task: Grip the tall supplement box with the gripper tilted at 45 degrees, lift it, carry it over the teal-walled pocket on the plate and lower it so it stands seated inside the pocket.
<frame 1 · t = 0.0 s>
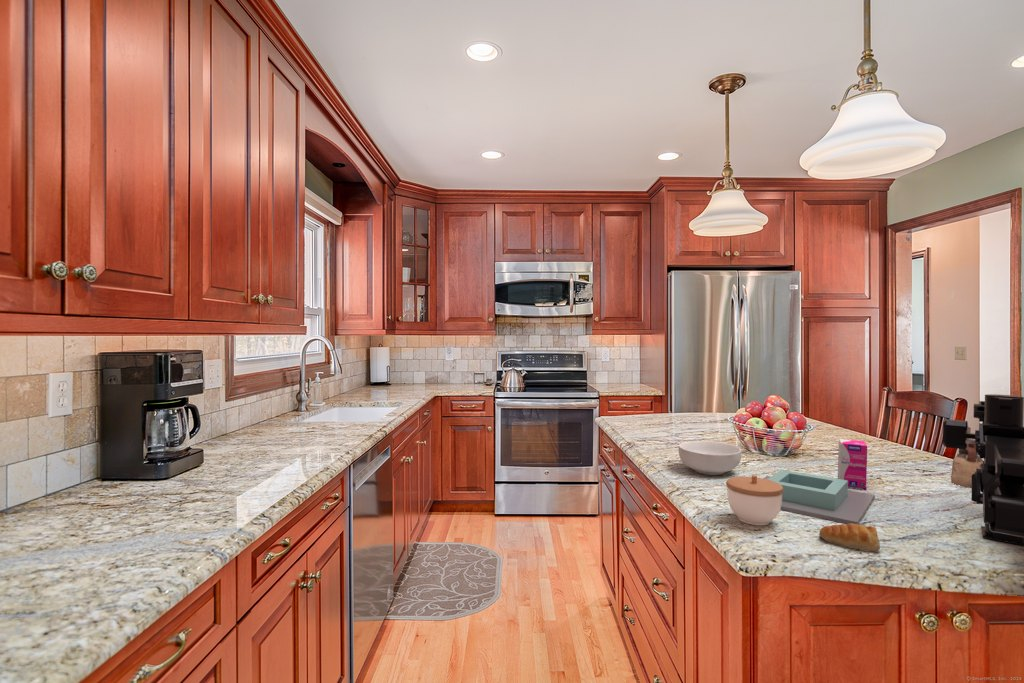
hand: (996, 432, 118), 17 cm above the countertop, tool horizontal, fingers open, 9 cm apart
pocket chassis: (805, 499, 122), on the countertop
figurine: (969, 485, 134), on the countertop
lidded jar: (753, 521, 108), on the countertop
pastry: (852, 545, 96), on the countertop
supplement box: (851, 486, 133), on the countertop
cereal bowl: (709, 472, 146), on the countertop
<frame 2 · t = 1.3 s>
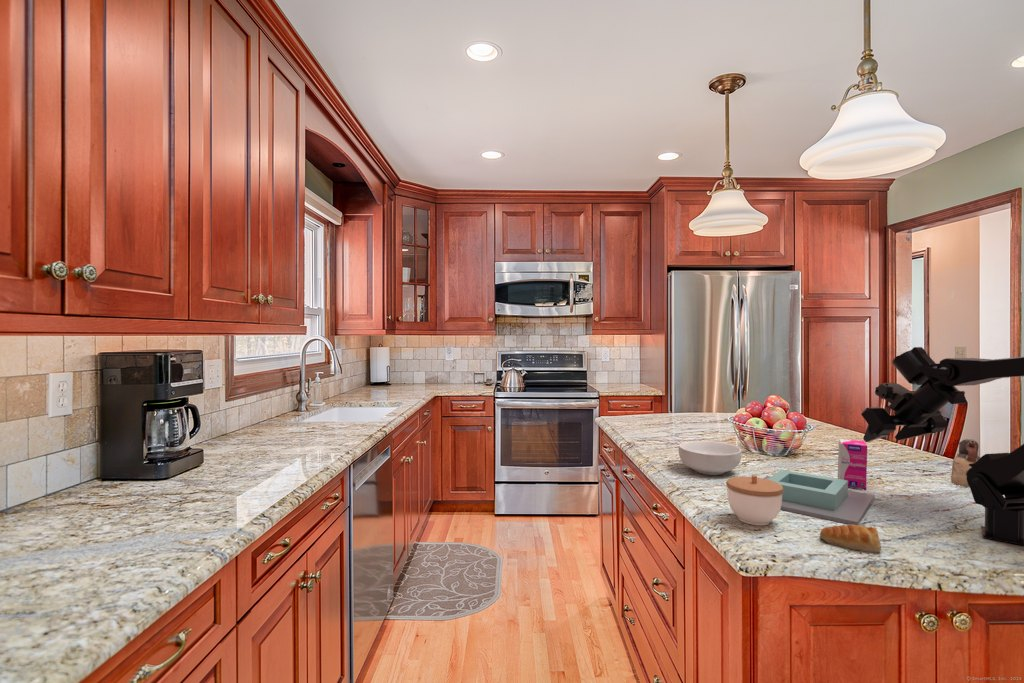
hand: (880, 439, 125), 14 cm above the countertop, tool tilted 45°, fingers open, 9 cm apart
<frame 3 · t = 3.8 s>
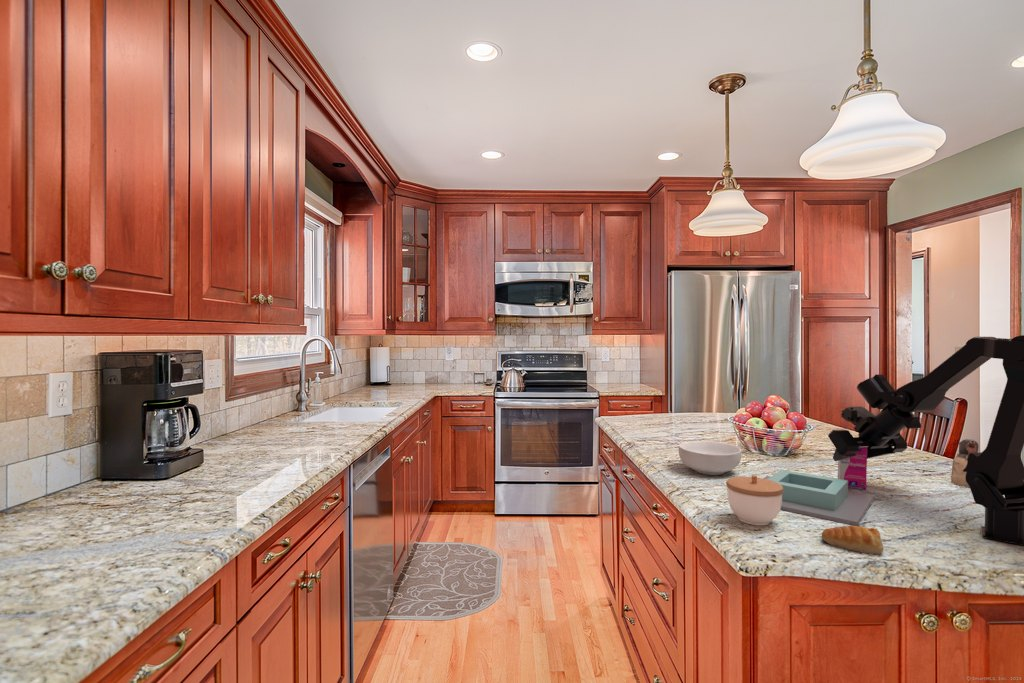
hand: (847, 458, 134), 7 cm above the countertop, tool tilted 45°, fingers closed on supplement box, 8 cm apart
supplement box: (851, 486, 133), on the countertop, touching gripper
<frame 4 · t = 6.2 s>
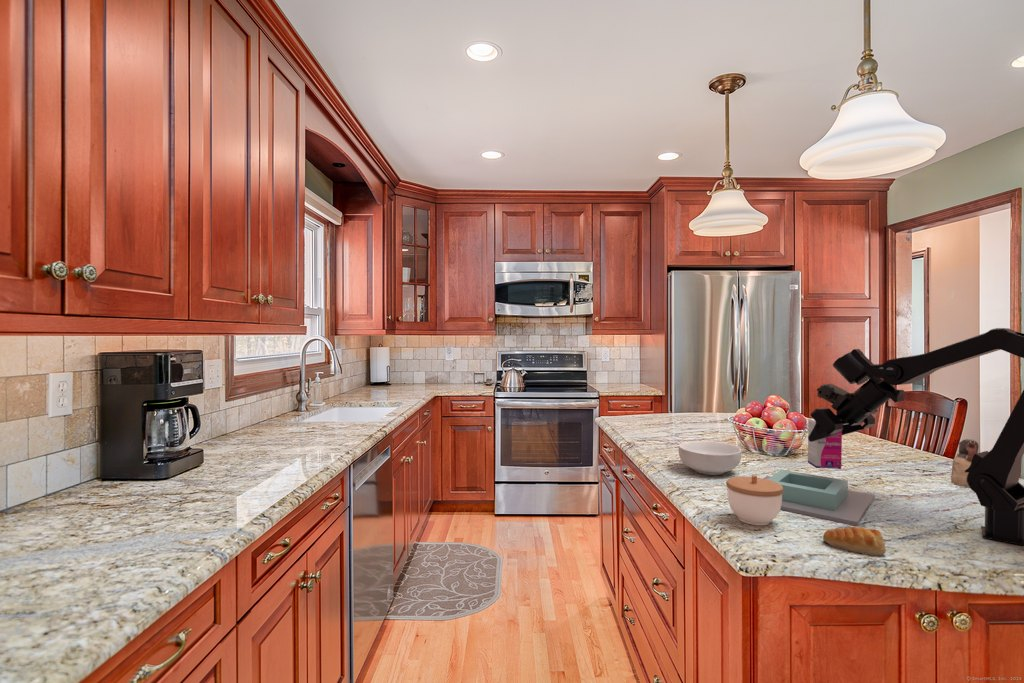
hand: (818, 438, 130), 13 cm above the countertop, tool tilted 45°, fingers closed on supplement box, 8 cm apart
supplement box: (824, 466, 129), point 6 cm above the countertop, touching gripper
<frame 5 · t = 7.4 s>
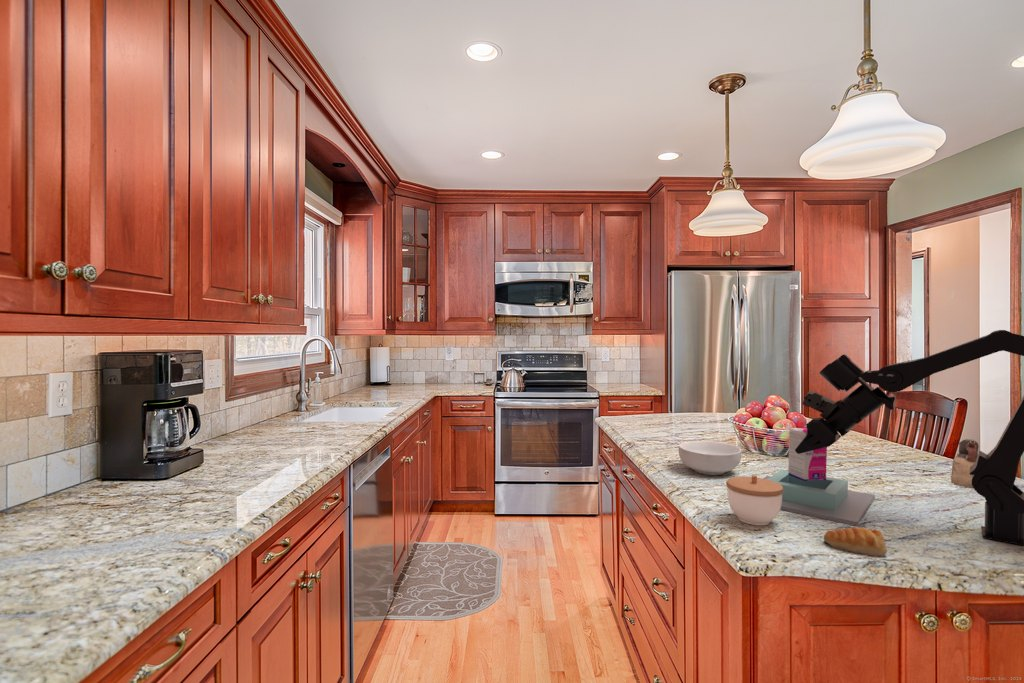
hand: (800, 449, 123), 12 cm above the countertop, tool tilted 45°, fingers closed on supplement box, 8 cm apart
supplement box: (807, 478, 122), point 5 cm above the countertop, touching gripper
when the fingers open (9 cm above the countertop, at t = 8.6 s): supplement box drops 1 cm, resting on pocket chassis.
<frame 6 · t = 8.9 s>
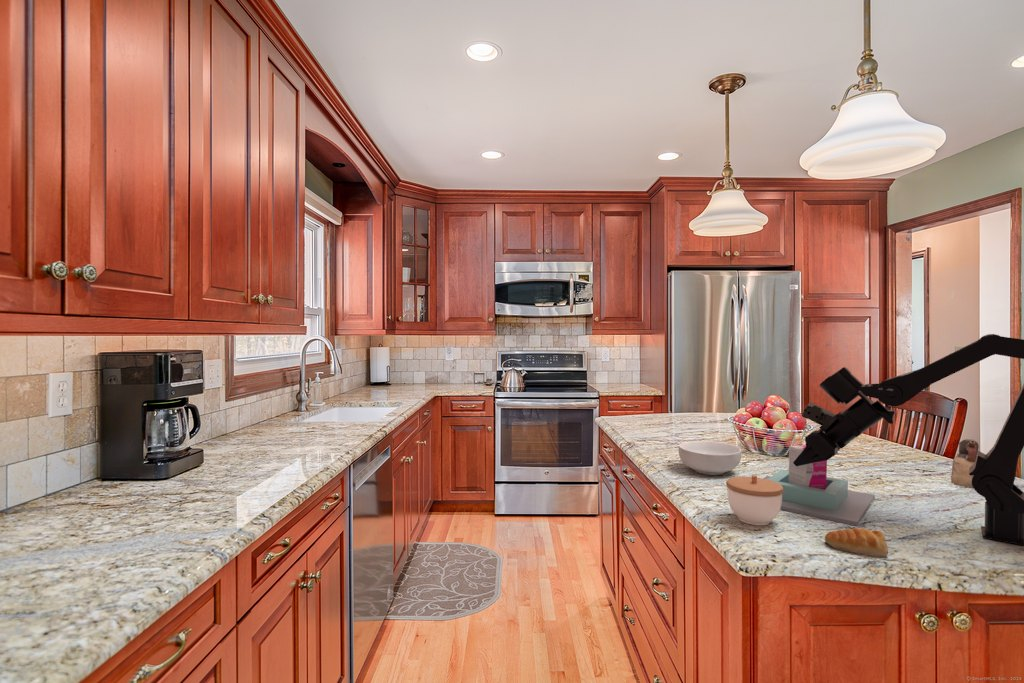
hand: (799, 460, 123), 9 cm above the countertop, tool tilted 45°, fingers open, 9 cm apart
supplement box: (807, 496, 122), point 1 cm above the countertop, touching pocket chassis
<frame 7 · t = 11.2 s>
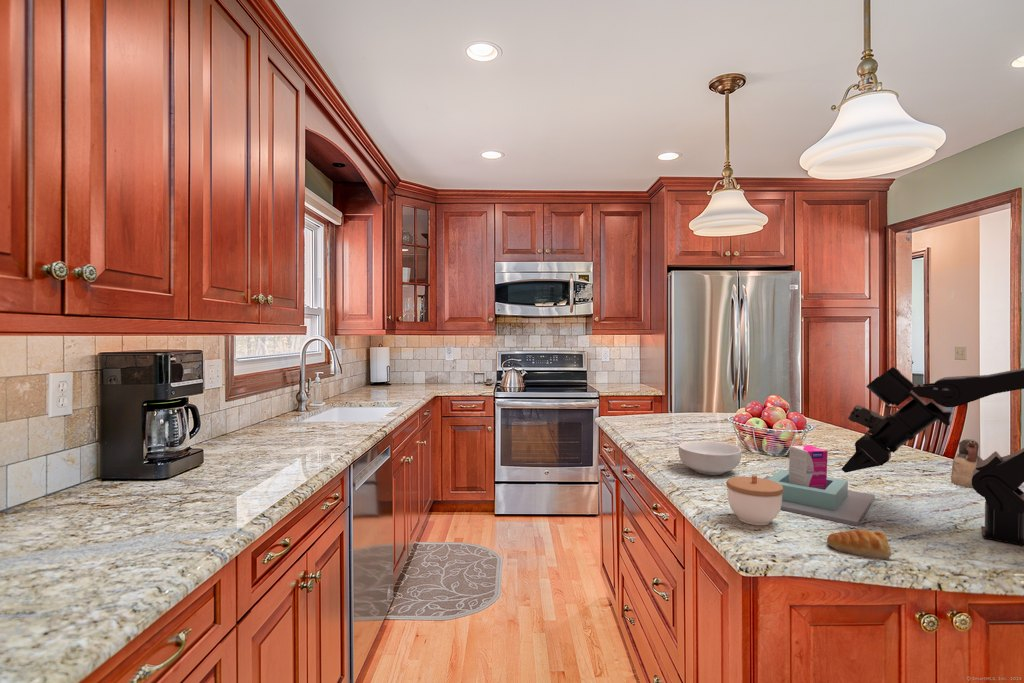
hand: (847, 466, 117), 9 cm above the countertop, tool tilted 45°, fingers open, 9 cm apart
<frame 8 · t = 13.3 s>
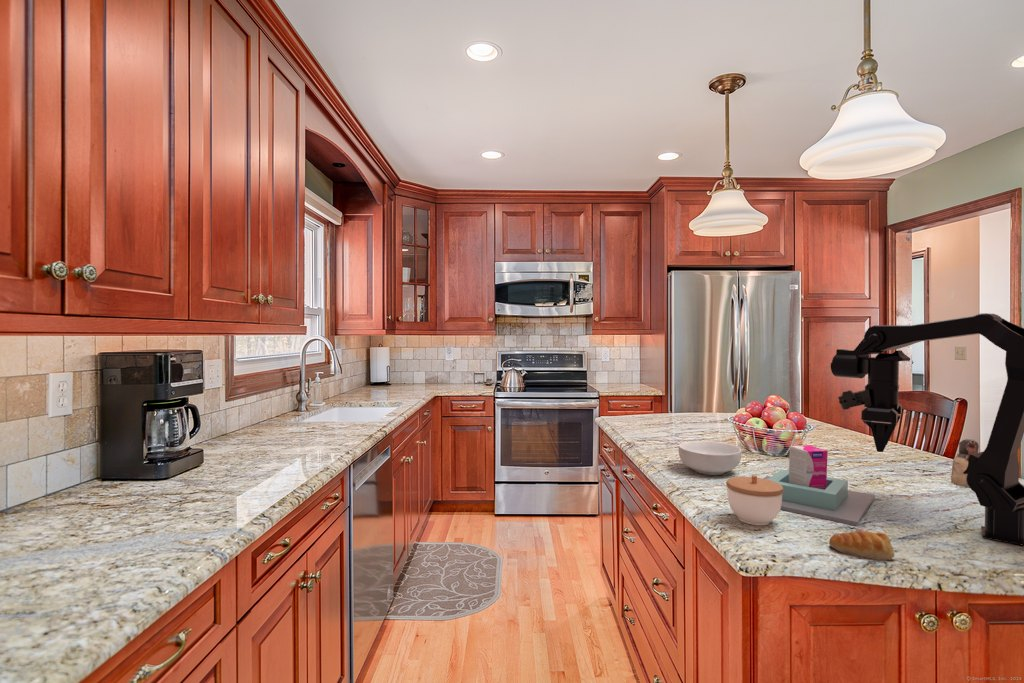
hand: (881, 448, 118), 13 cm above the countertop, tool pointing down, fingers open, 9 cm apart
at the end: supplement box 0.2 cm off-centre on the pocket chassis, point 0.6 cm above the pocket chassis's base; supplement box tilted 0°; the gripper is holding nothing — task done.
